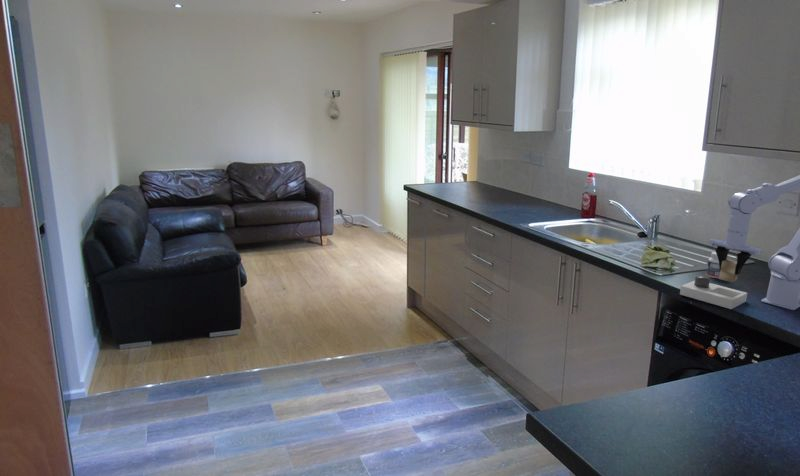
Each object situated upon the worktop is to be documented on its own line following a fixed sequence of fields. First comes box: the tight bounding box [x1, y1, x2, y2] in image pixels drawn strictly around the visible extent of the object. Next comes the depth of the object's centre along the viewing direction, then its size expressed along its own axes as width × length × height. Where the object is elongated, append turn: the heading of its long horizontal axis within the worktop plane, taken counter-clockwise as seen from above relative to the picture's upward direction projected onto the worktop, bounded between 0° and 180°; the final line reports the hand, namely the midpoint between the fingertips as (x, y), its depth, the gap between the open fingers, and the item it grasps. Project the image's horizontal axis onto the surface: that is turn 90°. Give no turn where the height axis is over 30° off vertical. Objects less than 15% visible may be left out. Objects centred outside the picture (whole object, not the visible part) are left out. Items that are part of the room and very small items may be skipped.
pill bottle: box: [705, 251, 720, 279], centre depth 210 cm, size 5×5×9 cm
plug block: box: [718, 258, 739, 283], centre depth 182 cm, size 4×4×6 cm
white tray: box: [679, 274, 748, 310], centre depth 186 cm, size 16×12×6 cm
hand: (729, 272), depth 182 cm, fingers closed on plug block, 4 cm apart
